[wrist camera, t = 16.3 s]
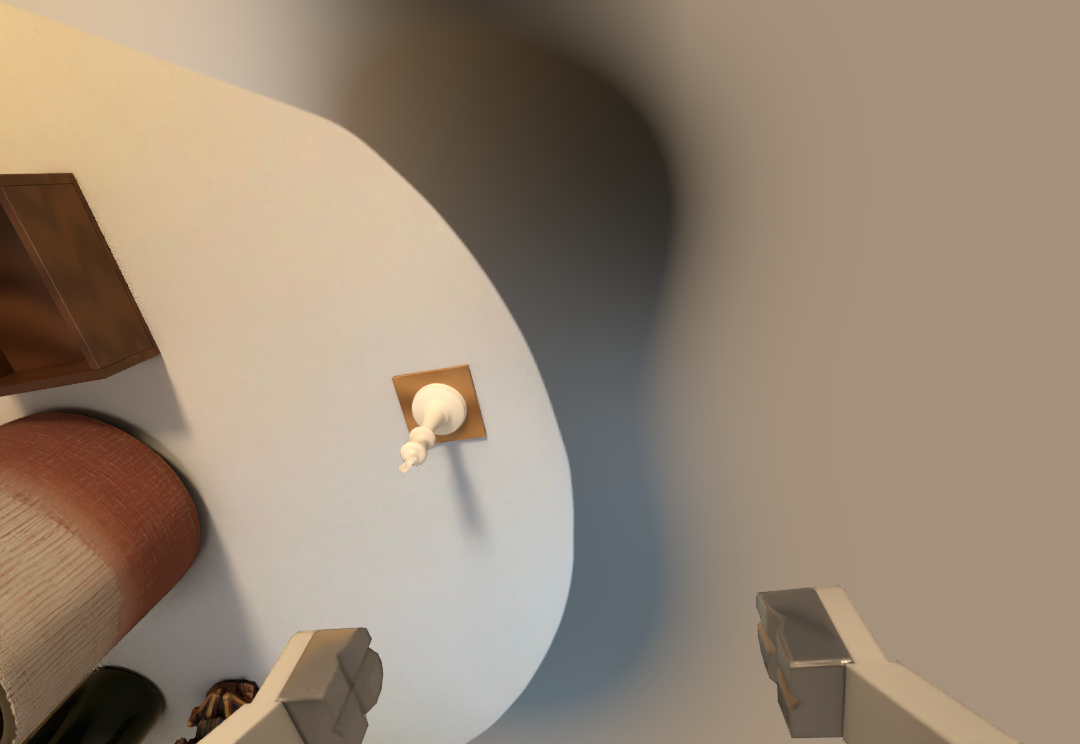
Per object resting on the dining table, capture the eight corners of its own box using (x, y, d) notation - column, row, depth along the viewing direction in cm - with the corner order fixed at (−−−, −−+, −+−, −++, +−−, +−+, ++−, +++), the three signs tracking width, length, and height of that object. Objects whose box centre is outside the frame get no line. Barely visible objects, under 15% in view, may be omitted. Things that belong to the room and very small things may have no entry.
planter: (109, 371, 48) (-190, 503, 29) (251, 548, 55) (83, 745, 36) (-46, 451, 52) (-387, 607, 34) (103, 604, 59) (-113, 803, 41)
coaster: (393, 376, 46) (391, 378, 45) (468, 364, 45) (467, 366, 45) (414, 444, 48) (413, 446, 48) (486, 434, 47) (485, 436, 47)
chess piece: (402, 408, 47) (358, 468, 37) (435, 372, 45) (398, 426, 36) (443, 442, 48) (411, 508, 38) (478, 408, 46) (452, 469, 37)
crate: (-86, 210, 43) (-183, 217, 38) (72, 172, 41) (-6, 174, 36) (16, 379, 49) (-55, 406, 43) (160, 353, 47) (105, 378, 41)
